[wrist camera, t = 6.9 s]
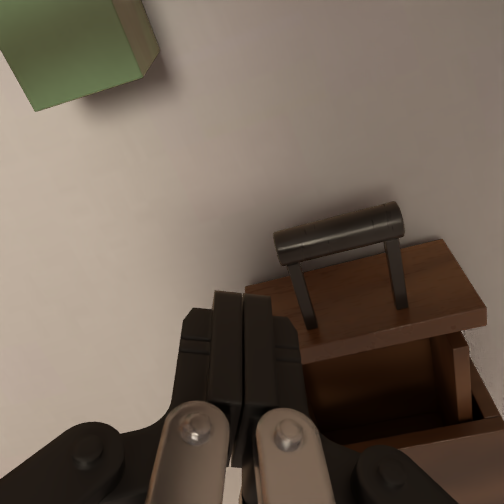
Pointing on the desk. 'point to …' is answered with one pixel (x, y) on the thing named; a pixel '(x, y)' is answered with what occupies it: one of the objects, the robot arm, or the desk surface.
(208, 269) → the desk surface
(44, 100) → the block
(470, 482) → the cabinet
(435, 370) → the drawer
